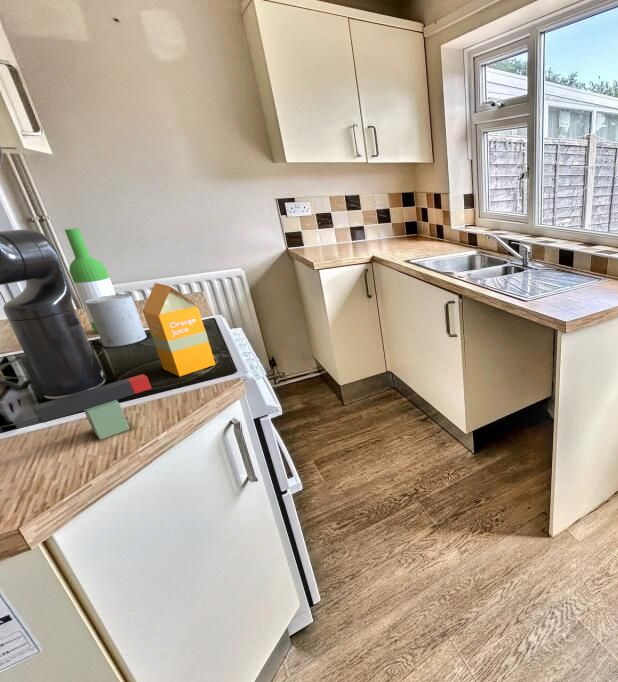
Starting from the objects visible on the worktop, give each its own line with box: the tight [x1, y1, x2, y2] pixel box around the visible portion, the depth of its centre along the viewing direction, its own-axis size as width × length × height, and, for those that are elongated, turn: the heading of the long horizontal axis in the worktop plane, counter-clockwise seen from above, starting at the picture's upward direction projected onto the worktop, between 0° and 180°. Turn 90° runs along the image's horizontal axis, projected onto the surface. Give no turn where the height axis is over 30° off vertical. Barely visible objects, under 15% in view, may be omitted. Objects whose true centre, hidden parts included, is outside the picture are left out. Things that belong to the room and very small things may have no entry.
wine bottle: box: [64, 228, 117, 333], centre depth 124 cm, size 8×8×30 cm
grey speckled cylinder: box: [85, 293, 147, 348], centre depth 117 cm, size 10×10×12 cm
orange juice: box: [142, 282, 216, 377], centre depth 97 cm, size 8×9×20 cm
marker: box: [34, 373, 152, 424], centre depth 72 cm, size 14×2×2 cm, turn 144°
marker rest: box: [83, 399, 131, 440], centre depth 74 cm, size 4×5×6 cm
